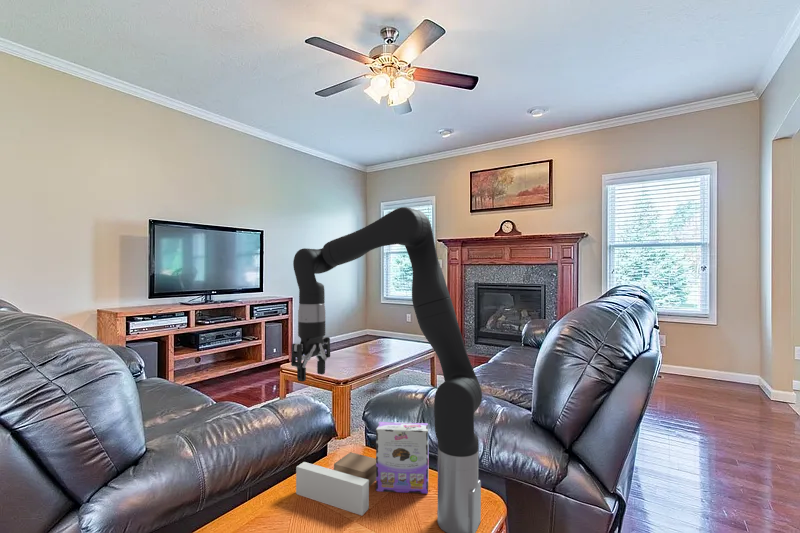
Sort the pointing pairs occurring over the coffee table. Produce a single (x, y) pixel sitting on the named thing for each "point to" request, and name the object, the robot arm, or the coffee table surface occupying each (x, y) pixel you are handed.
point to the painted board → (333, 487)
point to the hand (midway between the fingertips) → (311, 377)
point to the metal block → (357, 466)
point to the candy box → (402, 457)
